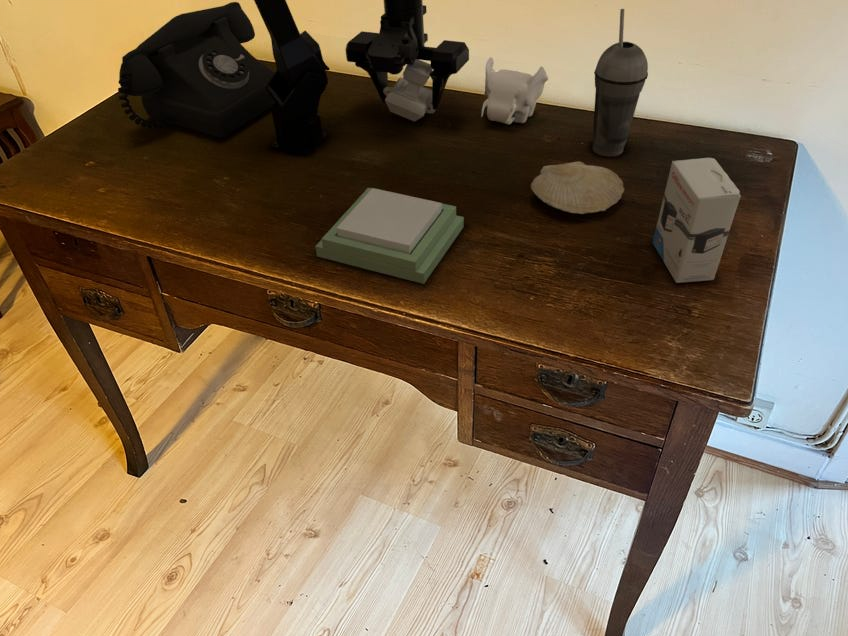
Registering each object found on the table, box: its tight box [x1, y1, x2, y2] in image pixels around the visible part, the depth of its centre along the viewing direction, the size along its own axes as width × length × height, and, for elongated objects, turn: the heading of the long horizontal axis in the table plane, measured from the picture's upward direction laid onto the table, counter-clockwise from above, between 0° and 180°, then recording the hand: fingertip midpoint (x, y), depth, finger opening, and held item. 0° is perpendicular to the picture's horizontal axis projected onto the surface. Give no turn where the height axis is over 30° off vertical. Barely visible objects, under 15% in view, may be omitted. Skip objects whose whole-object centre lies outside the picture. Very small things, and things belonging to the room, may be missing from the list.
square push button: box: [337, 187, 443, 254], centre depth 93 cm, size 10×10×2 cm
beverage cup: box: [592, 8, 649, 157], centre depth 103 cm, size 7×7×20 cm
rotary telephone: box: [117, 1, 276, 138], centre depth 119 cm, size 30×17×15 cm, turn 148°
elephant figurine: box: [481, 56, 549, 125], centre depth 115 cm, size 10×12×9 cm
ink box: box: [652, 157, 742, 284], centre depth 86 cm, size 8×5×12 cm, turn 5°
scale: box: [314, 187, 465, 285], centre depth 94 cm, size 15×13×3 cm
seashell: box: [530, 160, 625, 215], centre depth 100 cm, size 12×12×3 cm
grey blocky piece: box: [383, 59, 436, 123], centre depth 117 cm, size 9×7×8 cm
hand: (409, 105), depth 119 cm, fingers closed on grey blocky piece, 9 cm apart
